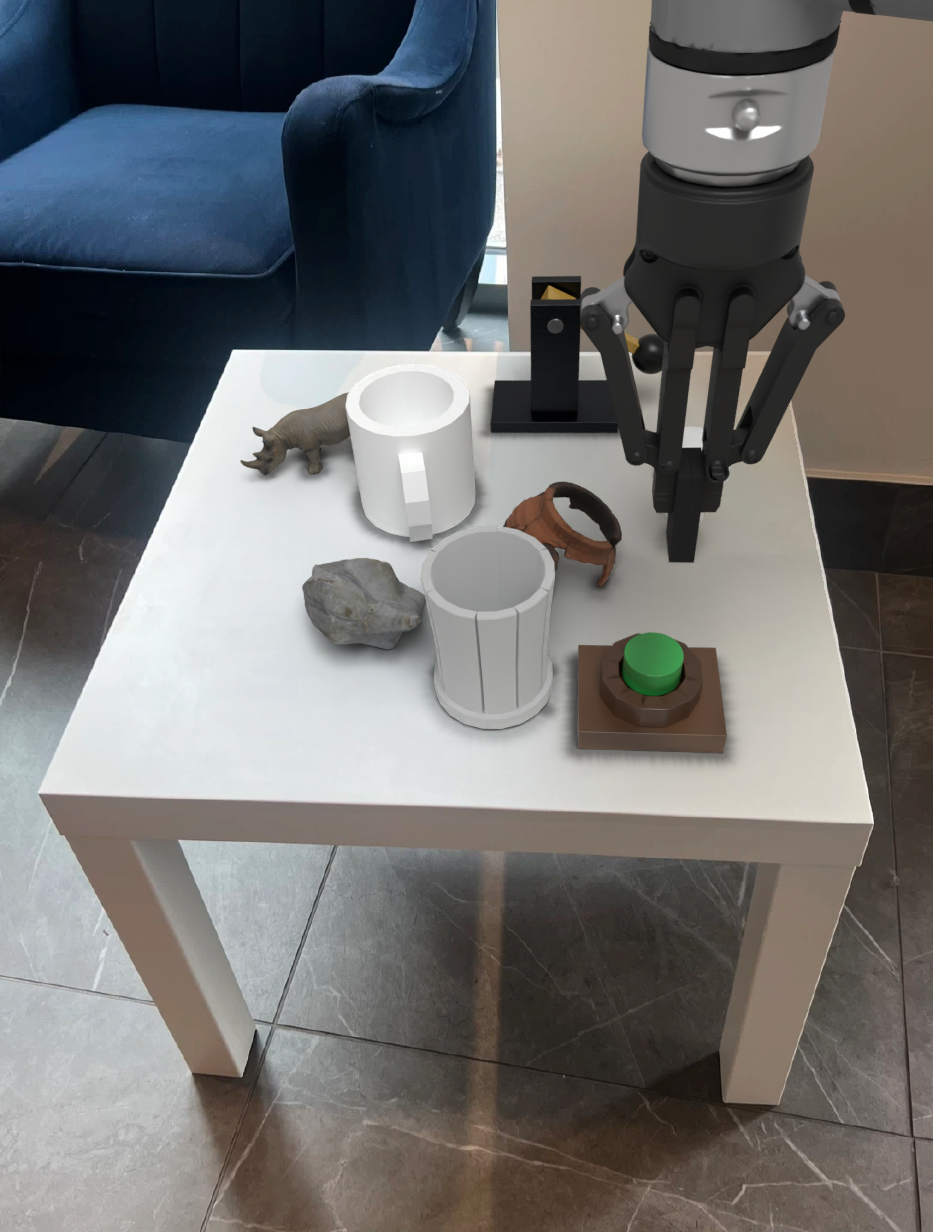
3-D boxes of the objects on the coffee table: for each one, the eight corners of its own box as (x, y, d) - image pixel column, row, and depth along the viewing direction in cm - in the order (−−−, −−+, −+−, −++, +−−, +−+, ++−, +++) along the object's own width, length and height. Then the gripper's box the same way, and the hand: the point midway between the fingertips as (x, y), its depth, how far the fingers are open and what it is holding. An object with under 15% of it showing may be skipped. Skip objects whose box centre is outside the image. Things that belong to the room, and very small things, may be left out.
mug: (490, 554, 84) (485, 453, 77) (369, 571, 84) (351, 470, 76) (467, 456, 94) (461, 356, 86) (358, 470, 93) (342, 371, 85)
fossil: (462, 622, 79) (456, 548, 73) (401, 702, 74) (389, 629, 68) (347, 576, 83) (332, 503, 78) (281, 649, 78) (260, 577, 72)
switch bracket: (615, 390, 100) (623, 269, 90) (617, 432, 95) (626, 310, 85) (495, 390, 101) (490, 271, 91) (490, 432, 96) (485, 311, 87)
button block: (712, 665, 75) (719, 628, 72) (723, 753, 69) (731, 718, 66) (577, 662, 76) (579, 626, 73) (577, 748, 70) (579, 714, 67)
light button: (678, 652, 71) (681, 632, 70) (682, 697, 68) (685, 677, 67) (621, 651, 72) (623, 631, 70) (623, 695, 69) (625, 675, 67)
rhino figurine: (239, 474, 94) (224, 421, 89) (373, 427, 97) (365, 374, 93) (254, 498, 91) (239, 445, 87) (391, 449, 95) (383, 395, 90)
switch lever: (656, 365, 95) (677, 336, 93) (658, 387, 93) (680, 357, 90) (533, 307, 92) (552, 275, 89) (531, 328, 89) (551, 295, 87)
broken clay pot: (505, 525, 87) (554, 456, 82) (592, 590, 87) (647, 524, 82) (451, 590, 78) (502, 516, 73) (548, 663, 78) (607, 594, 73)
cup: (393, 698, 74) (373, 583, 66) (453, 617, 80) (442, 501, 71) (519, 750, 70) (517, 636, 62) (574, 662, 76) (578, 545, 67)
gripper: (578, 193, 42) (572, 590, 59) (900, 183, 41) (799, 591, 58) (577, 123, 47) (572, 507, 64) (863, 112, 46) (780, 506, 63)
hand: (679, 547), depth 61 cm, fingers closed
